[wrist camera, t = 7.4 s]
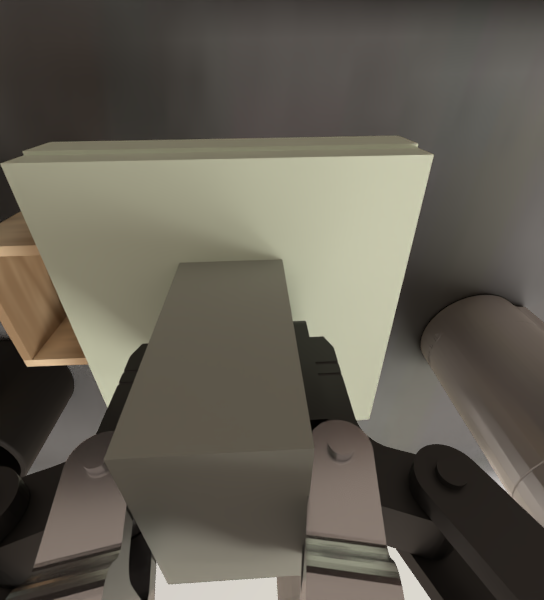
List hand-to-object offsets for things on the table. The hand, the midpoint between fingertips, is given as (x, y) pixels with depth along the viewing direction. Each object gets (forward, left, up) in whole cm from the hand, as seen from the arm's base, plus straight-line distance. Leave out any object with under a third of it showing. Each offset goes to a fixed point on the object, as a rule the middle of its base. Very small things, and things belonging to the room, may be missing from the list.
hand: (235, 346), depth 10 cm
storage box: (+11, +5, -16) cm, 20 cm away
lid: (0, 0, -3) cm, 3 cm away
